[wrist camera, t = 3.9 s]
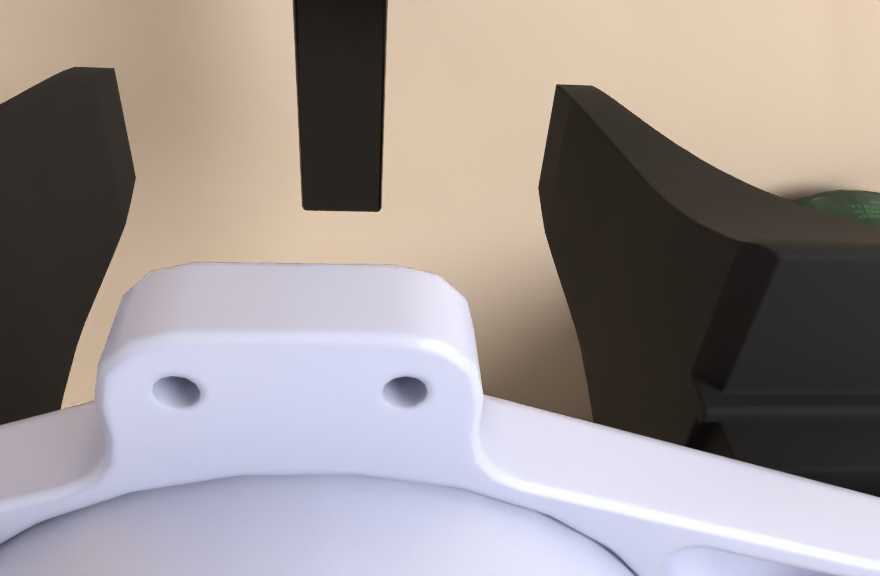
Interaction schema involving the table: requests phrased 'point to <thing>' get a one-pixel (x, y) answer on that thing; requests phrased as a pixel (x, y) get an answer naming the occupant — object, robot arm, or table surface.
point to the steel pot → (341, 102)
